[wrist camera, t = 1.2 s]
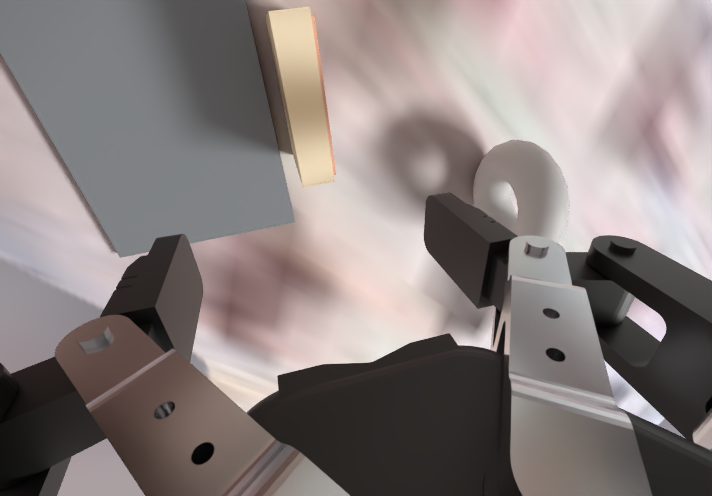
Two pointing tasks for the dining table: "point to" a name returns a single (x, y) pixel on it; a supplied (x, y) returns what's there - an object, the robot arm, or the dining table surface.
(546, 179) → the donut
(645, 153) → the dining table surface
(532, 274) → the robot arm
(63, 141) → the mat
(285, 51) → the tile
